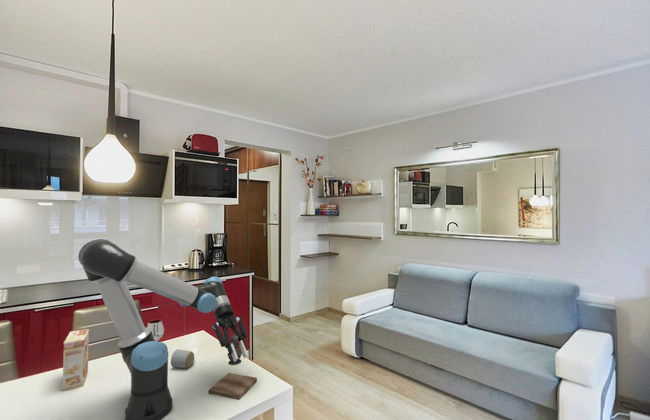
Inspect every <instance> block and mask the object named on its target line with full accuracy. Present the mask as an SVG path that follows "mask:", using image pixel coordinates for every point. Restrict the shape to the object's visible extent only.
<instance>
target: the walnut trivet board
mask: <svg viewBox="0 0 650 420" xmlns="http://www.w3.org/2000/svg"><path fill="white" fill-rule="evenodd" d="M257 382H258V377H256V376H255V377H254V376H248V375H243V374H237V373H232V372H228V373H227V374H226V375H224V376H223V377H222V378H221V379H219V380H218V381H217V382H216V383H215V384H214V385H212V386H211V387H210V388H209V389H208V392H207V393H208V395H214V396H218V397H219V396H220V397H223V398H229V399H234V400H240V399H241V398H242V397H243V396H244V395H245V394H246V393H247V392H248V391H249V390H250V389H251V388H252V387H253V386H254V385H255V384H256V383H257Z"/></svg>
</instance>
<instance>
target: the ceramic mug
mask: <svg viewBox="0 0 650 420" xmlns="http://www.w3.org/2000/svg"><path fill="white" fill-rule="evenodd" d="M194 361H195V354H194V352H193V351H191V350H185V349H179V348H178V349H176V350H174V351H173V353H172V355H171V358H170V365H171V367H172V368H180V369H182V368H184V369H188V368H190V367H191V366H192V365H193V363H194Z"/></svg>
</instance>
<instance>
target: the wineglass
mask: <svg viewBox="0 0 650 420" xmlns="http://www.w3.org/2000/svg"><path fill="white" fill-rule="evenodd" d="M146 328H150V329H151V332H152V334H153V336H154V339H155V341H158V342H159V340H160V339H161V338H163V335H164V334H165V328H164V325H163V322H162V320H161V319H154V320H153V319H152V320H150V321H148V323H147V327H146Z"/></svg>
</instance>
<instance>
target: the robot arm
mask: <svg viewBox="0 0 650 420" xmlns="http://www.w3.org/2000/svg"><path fill="white" fill-rule="evenodd" d="M77 256H78V257H77V258H78V261H79V263H80V265H82V268H83V270H84V273H85V275H86V277H87V280H88V281H89V282H90V283H94V284H95V285H96V287H97V289H98V291H99V294H100V296H101V298H102V300H103V303H104V305H105V307H106V309H107V312H108V313H109V317H110V319H111V321H112V323H113V325H114V327H115V330H116V333H117V335H118V337H119V341H118V343H117V347H118V350H119V352H120V354H121V357H122V360H123V362H124V364H125V365H126V367H127V370H129V373H130V377H131V378H130V397H129V399H128V403H127V406H126V408H125V410H124V411H125V412H124V420H162V419H163V418H165V417H166V416H167V415H169V413H171V411H172V409H173V402H174V401H173V396H172V395H171V391H170V389H169V386H168V385H169V383H168V377H169V374H168V373H169V350H168V346H167V344H166V343H164V342H163V341H159V340H158V341H155V339H154V336H153V334H152V332H151V329H150V328H147V327H146V326H145V325H144V321H143V319H142V317H141V315H140V313H139V311H138V308H137V306H136V305H137V304H136V303H135V300H134V298H133V296H132V294H131V291H130V289H129V286H128V284H127V283H129V284H133V285H135V286H137V287H140V288H142V289H145V290H147V291H150V292H153V293H155V294H156V295H160V296H162V297H165V298H168V299H170V300H172V301H175V302H178V304H179V305H180V307H190V308H191V309H195V310H197V311H198V312H200V313H203V314H208V313H212V312H213V313H214V314H213V315H214V316H215V319H216V323H215V322H214V323H213V324H212V327H211V329H212V330H213V331H214V332H215V334H216V337H217V340H218V342H219V344H220V347H222V348H225V349H227V351H228V353H229V354H231V355H232V357H233V360H234V362H236V361H237V359H238V356H237V354H236V351H235V348H234V346H233V343H232V344H231V337H230V333H229V332H230V331H229V329H230V330H231V331H232V332H233V334H234V333H235V335H237V336H238V343H239V345H238V348H239V349H240V351H241V352H242V354H241V356H242V358H243V359H246V358H247V357H248V354H249V353H248V351H247V344H246V341H245V340H246V339H247V338H248V334H247V331H246V328H245V325H244V322H243V316H239V317H238V316H236V315H235V313H234V310H233V308H232V305H231V302H230V300H229V298H228V295H227V293H226V290H225V287H224V284H223V282H222V280H221V279H220V277H218V276H211V277H208V278H207V279H205V280H204V282H203V284H198V285H192V284H191V283H188V282H185V281H183V280H181V279H179V278H177V277H174V276H172V275H170V274H168V273H165V272H163V271H161V270H159V269H156V268H154V267H152V266H150V265H147V264H145V263H143V262H141V261H138V259H137V257H136V256H134V255H132V254H131V253H128V252H127V251H126V250H123V248H120V247H119V246H118V245H116V243H113V242H112V241H111V240H108V239H106V238H105V239H102V238H99V239H98V238H97V239H93V240H91V241H87V243H85V244H84V245H83V246H82V247H81V248H80V251H78V255H77ZM236 323H237V324H236ZM221 328H222V330H221ZM230 344H231V345H230Z"/></svg>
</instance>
